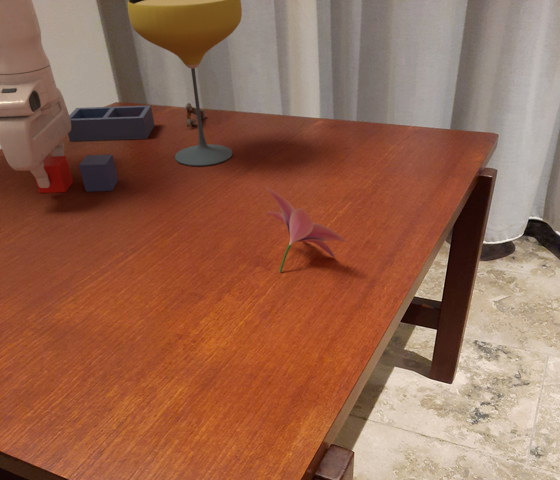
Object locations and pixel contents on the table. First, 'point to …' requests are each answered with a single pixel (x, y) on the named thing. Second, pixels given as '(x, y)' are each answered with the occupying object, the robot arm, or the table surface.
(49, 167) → the red block
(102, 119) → the tray
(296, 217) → the lily
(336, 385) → the table surface
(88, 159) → the blue block
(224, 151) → the cocktail glass
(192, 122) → the brown lumpy upright piece
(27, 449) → the table surface
